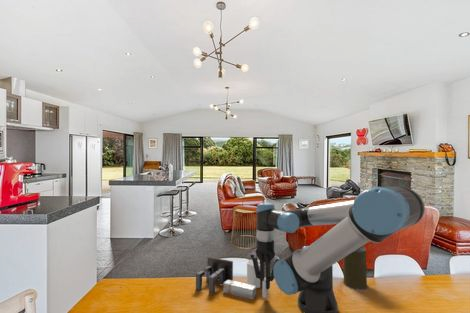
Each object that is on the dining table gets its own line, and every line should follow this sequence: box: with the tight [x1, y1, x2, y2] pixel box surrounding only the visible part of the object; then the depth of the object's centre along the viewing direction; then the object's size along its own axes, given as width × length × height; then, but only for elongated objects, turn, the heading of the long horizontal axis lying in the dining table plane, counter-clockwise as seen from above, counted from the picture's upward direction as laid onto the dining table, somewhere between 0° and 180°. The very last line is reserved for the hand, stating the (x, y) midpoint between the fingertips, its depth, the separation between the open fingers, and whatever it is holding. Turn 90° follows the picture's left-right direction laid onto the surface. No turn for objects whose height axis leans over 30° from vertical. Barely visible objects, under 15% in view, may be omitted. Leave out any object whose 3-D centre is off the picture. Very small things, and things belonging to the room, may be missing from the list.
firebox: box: [195, 256, 234, 295], centre depth 114 cm, size 14×14×10 cm
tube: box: [222, 280, 257, 300], centre depth 106 cm, size 14×4×4 cm, turn 64°
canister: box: [342, 246, 368, 291], centre depth 117 cm, size 11×10×20 cm
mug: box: [246, 259, 260, 289], centre depth 117 cm, size 12×8×10 cm
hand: (265, 296), depth 101 cm, fingers closed
